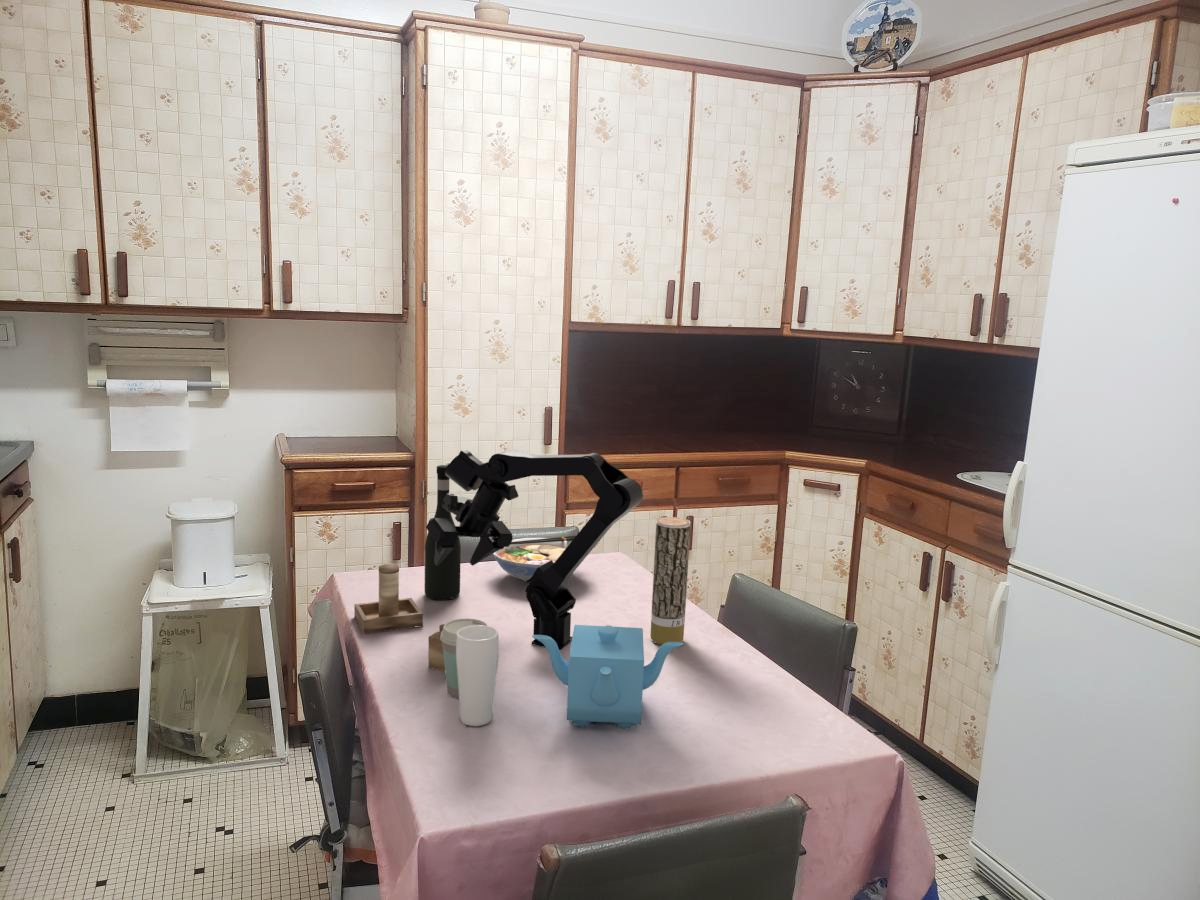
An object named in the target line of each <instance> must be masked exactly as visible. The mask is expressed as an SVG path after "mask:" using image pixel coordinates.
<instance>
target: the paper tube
mask: <svg viewBox="0 0 1200 900" xmlns="http://www.w3.org/2000/svg"><path fill="white" fill-rule="evenodd" d="M654 537H655V540H654V541H655V543H654V558H653V561H654V562H653V575H652V576H653V577H652V578H653V579H652V595H651V599H652V600H651V611H650V612H651V615H650V617H651V618H650V637H649V638H650V639H651V641H652V642H654V643H655V644H657V645H660V646H661V645H662V644H664V643H666V642H682V643H683V641H684V637H685V636H684V635H685V623H686V622H685V621H686V620H685V619H686V607H687V606H686V605H687V589H688V588H687V587H688V575H689V574H688V572H689V571H688V570H689V559H690V558H689V556H690V539H691V520H689V519H686V518H684V517H683V518H682V517H678V516H677V517H674V516H665V517H664V516H663V517H659V518H657V519H656V522H655V536H654Z"/></svg>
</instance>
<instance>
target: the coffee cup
mask: <svg viewBox="0 0 1200 900" xmlns="http://www.w3.org/2000/svg"><path fill="white" fill-rule="evenodd" d="M444 624H445V625H444V627H443V630H442V632H441V636H440V639H441V641H442V646H443V655H444V665H445V671H444V673H445V682H446V683H445V684H446V691H447V695H448V696H450V697H451V698H454V699H458V700H459V692H458V679H457V666H456V637H457V631H458V630H460V629H461V628H463V627H467V626H472V625H485V626H488V625H487V623H486V622H485V621H483V620H481V619H478V618H477V619H476V618H457V619H454V620H453V619H452V620H450V621H447V622H446V623H444Z"/></svg>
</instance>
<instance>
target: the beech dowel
mask: <svg viewBox="0 0 1200 900" xmlns="http://www.w3.org/2000/svg"><path fill="white" fill-rule="evenodd" d="M399 576H400V566H399V565H398V564H395V563H385V564H381V565H379V566H378V601H379V617H385V616H394V615H398V611H399V599H400V597H399V595H400V594H399V593H400V592H399V586H400V577H399Z"/></svg>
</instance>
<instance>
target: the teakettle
mask: <svg viewBox="0 0 1200 900" xmlns="http://www.w3.org/2000/svg"><path fill="white" fill-rule="evenodd" d="M531 637H532V638H533V639H534V638H535V639H537V640H538V641H540V642H542V643H543V644H544V646H545V647H544V648H545V649H546V651H547V653H548V656H549V661H550V663H551V667H552V671H553V672H554V674H555V676H556V678H557V679H558V681H560V682H561V683H562V684H563V685H565V686H567V696H566V697H567V698H566V703H567V704H566V721H571V722H573V724H574V725H576V726H579V727H585V726H586V727H587V726H589V725H591V723H592V722H594V723H595V722H596V723H609V724H610V723H611V724H612V723H613V724H616V725H617V727H619V728H620V729H632V728H634V727H635V726H636V725H642V712H643V711H642V709H643V694H644V693H643V691H644V690H647V689H648V688H650V687H652V686H653V685H654V684H655V683H656V682H657V680H658V678H659V676H660V674H661V672H662V669H663V666H664V664H665V661H666V659H667V657H668V655H669V654H670V653H671V652H672V651H674V649H677V648H679V647H681V646H684V642H683V641H682V642H666V643H664V644H662V645H661V644H660V646H659V647H658V649H657V650H656V653H655V655H654V657H653V659H652V660H651V661H650V663H648V664H646V665H645V652H644V649H645V647H644V629H643V628H642V627H629V626H627V627H626V626H612V625H589V624H586V625H585V624H574V625H573V631H572V636H571V637H572V641H571V642H570V648H569V649H570V650H569V655H568V661H567V660H566V659H565V658H564V657H563V656H562V654H561V652H560V650H559V648H558V646H557V644H556V642H555V641H554V640H553V639H552V638H551V637H549V636H545V635H531ZM633 726H634V727H633ZM631 727H632V728H631Z"/></svg>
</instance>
